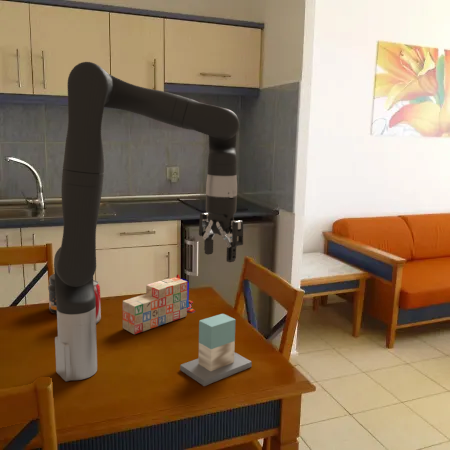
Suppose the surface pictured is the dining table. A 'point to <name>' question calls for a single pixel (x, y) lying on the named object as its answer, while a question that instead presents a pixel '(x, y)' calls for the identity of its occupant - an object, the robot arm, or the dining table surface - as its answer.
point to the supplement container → (52, 295)
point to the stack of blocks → (156, 305)
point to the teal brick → (216, 331)
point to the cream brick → (216, 356)
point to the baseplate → (208, 376)
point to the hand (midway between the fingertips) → (219, 257)
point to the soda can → (97, 300)
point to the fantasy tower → (189, 309)
